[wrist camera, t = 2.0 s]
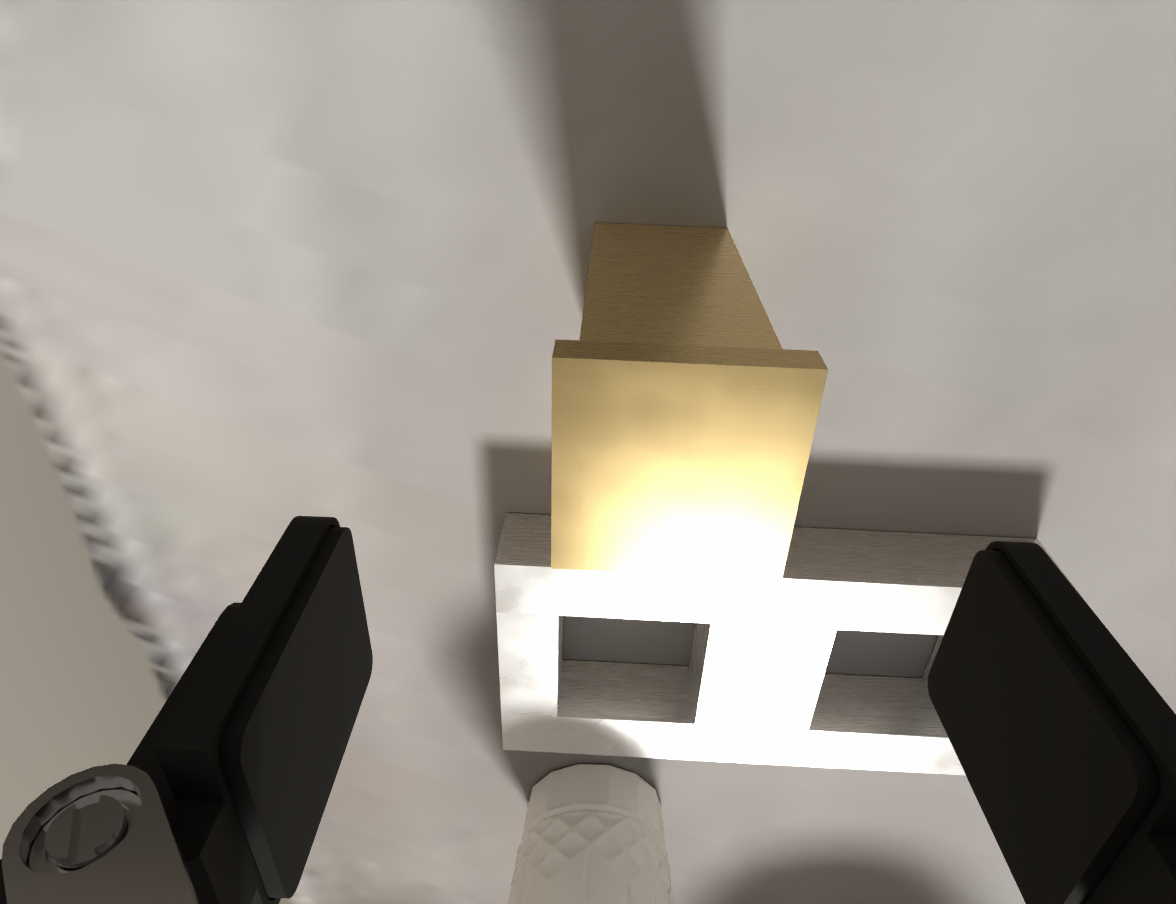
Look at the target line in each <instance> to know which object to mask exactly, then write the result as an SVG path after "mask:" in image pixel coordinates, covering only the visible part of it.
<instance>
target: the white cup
mask: <svg viewBox="0 0 1176 904" xmlns="http://www.w3.org/2000/svg"><path fill="white" fill-rule="evenodd" d="M508 904H674V903H673V894H672V887H671V877H670V867H669V860H668V854H667V850H666V848H665V838H664V826H663V814H662V808H661V805H660V802H659V799H658V796H657V792H656V790H655V789H654V788H653V787H652V786H651V785H649V784H648V783H647V782H646V781H645V780H643V779H642V778H641V777H640V776H638V775H637V774H635V773H632V772H629V771H626V770H623V769H620V768H617V767H614V766H611V765H597V764H577V765H573V766H570V767H566V768H562V769H559V770H556V771H552V772H550V773H549V774H548V775H547V776H545V777H544V778H543V779H542V780H540V781H539V782H538V783H537V784H536V785H534V786H533V788H532V791H531V795H530V799H529V802H528V806H527V812H526V818H525V824H524V830H523V836H522V841H521V843H520V845H519V847H518V851H517V856H516V863H515V870H514V873H513V877H512V882H511V888H510V895H509V902H508Z"/></svg>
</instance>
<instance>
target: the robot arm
mask: <svg viewBox="0 0 1176 904" xmlns="http://www.w3.org/2000/svg"><path fill="white" fill-rule="evenodd" d="M372 659H373V657H372V650H371V644H370V638H369V632H368V626H367V620H366V615H365V609H364V603H363V597H362V591H361V586H360V580H359V574H358V568H357V562H356V556H355V551H354V545H353V539H352V534H351V531H350V529H349V528H347V527H340V525H339V522H338V520H337V519H336V518H334V517H312V516H297V517H294V518H293V520H292V521H291V522H290V524H289V525H288V527H287V529H286V530H285V532H284V534H283V535H282V537H281V539H280V540H279V542H278V544H277V545H276V547H275V549H274V550H273V552H272V554H271V555H270V557H269V559H268V560H267V562H266V563H265V565H264V567H263V568H262V570H261V572H260V573H259V575H258V577H257V578H256V580H255V582H254V583H253V585H252V587H251V588H250V590H249V592H248V593H247V595H246V597H245V598H244V600H243V602H242V603H233V604H231V605H229V606H227V608H226V609H225V610H224V611H223V612H222V614H221V615H220V617H219V618H218V620H217V621H216V623H215V625H214V626H213V628H212V629H211V631H210V633H209V634H208V636H207V637H206V639H205V640H204V642H203V644H202V645H201V647H200V648H199V650H198V652H197V653H196V655H195V656H194V658H193V660H192V661H191V663H190V664H189V666H188V668H187V669H186V671H185V672H184V674H183V676H182V677H181V679H180V680H179V682H178V684H177V685H176V687H175V688H174V690H173V692H172V693H171V695H170V696H169V698H168V699H167V701H166V703H165V704H164V706H163V708H162V709H161V711H160V712H159V714H158V716H157V717H156V719H155V720H154V722H153V724H152V725H151V727H150V728H149V730H148V731H147V733H146V735H145V736H144V738H143V739H142V741H141V743H140V744H139V746H138V747H137V749H136V751H135V752H134V754H133V755H132V757H131V759H130V760H129V762H128V763H127V765H122V764H109V765H103V766H96V767H92V768H89V769H86V770H84V771H81V772H78V773H76V774H73V775H70V776H69V777H67V778H65V779H63V780H62V781H60V782H58V783H57V784H55V785H53V786H52V787H50V788H48V789H47V790H46V791H45V792H43V793H42V794H41V795H40V796H39V797H38V798H36V799H35V800H34V801H33V802H31V803H30V804H29V805H28V806H27V807H26V809H25V810H24V811H23V812H22V814H21V815H20V816H19V817H18V818H17V820H16V821H15V822H14V823H13V825H12V827H11V829H10V831H9V833H8V835H7V837H6V840H5V842H4V844H3V852H2V859H1V860H0V904H279V902H280V899H281V898H291V897H292V896H293V894H294V893H295V891H296V889H297V887H298V884H299V881H300V879H301V876H302V873H303V870H304V867H305V864H306V861H307V858H308V855H309V853H310V850H311V847H312V844H313V841H314V838H315V835H316V832H317V830H318V827H319V824H320V821H321V818H322V815H323V812H324V809H325V807H326V804H327V801H328V798H329V795H330V792H331V789H332V786H333V784H334V781H335V778H336V775H337V772H338V769H339V766H340V763H341V760H342V758H343V755H344V752H345V749H346V746H347V743H348V740H349V737H350V735H351V732H352V729H353V726H354V723H355V720H356V717H357V714H358V712H359V709H360V706H361V703H362V700H363V697H364V694H365V691H366V689H367V686H368V683H369V680H370V676H371V671H372ZM928 692H929V696H930V699H931V701H932V704H933V706H934V708H935V710H936V712H937V714H938V716H939V719H940V721H941V723H942V725H943V727H944V729H945V731H946V734H947V736H948V738H949V740H950V742H951V744H952V746H953V749H954V751H955V753H956V755H957V757H958V759H959V761H960V764H961V766H962V768H963V770H964V772H965V774H966V776H967V779H968V781H969V783H970V785H971V787H972V789H973V791H974V794H975V796H976V798H977V800H978V802H979V804H980V806H981V809H982V811H983V813H984V815H985V817H986V819H987V821H988V824H989V826H990V828H991V830H992V832H993V834H994V836H995V839H996V841H997V843H998V845H999V847H1000V849H1001V851H1002V853H1003V856H1004V858H1005V860H1006V862H1007V864H1008V866H1009V868H1010V871H1011V873H1012V875H1013V877H1014V879H1015V881H1016V883H1017V886H1018V888H1019V890H1020V892H1021V894H1022V896H1023V898H1024V901H1025V903H1026V904H1176V714H1175V713H1174V712H1173V711H1172V709H1171V708H1170V707H1169V706H1168V704H1167V703H1166V702H1165V701H1164V699H1163V698H1162V697H1161V696H1160V694H1159V693H1158V692H1157V691H1156V689H1155V688H1154V687H1153V686H1152V684H1151V683H1150V682H1149V681H1148V679H1147V678H1146V677H1145V676H1144V674H1143V673H1142V672H1141V671H1140V669H1139V668H1138V667H1137V666H1136V664H1135V663H1134V662H1133V661H1132V659H1131V658H1130V657H1129V656H1128V654H1127V653H1126V652H1125V651H1124V649H1123V648H1122V647H1121V646H1120V644H1119V643H1118V642H1117V641H1116V639H1115V638H1114V637H1113V636H1112V634H1111V633H1110V632H1109V631H1108V629H1107V628H1106V627H1105V626H1104V624H1103V623H1102V622H1101V621H1100V619H1099V618H1098V617H1097V616H1096V614H1095V613H1094V612H1093V611H1092V609H1091V608H1090V607H1089V606H1088V604H1087V603H1086V602H1085V601H1084V599H1083V598H1082V597H1081V596H1080V594H1079V593H1078V592H1077V591H1076V589H1075V588H1074V587H1073V586H1072V584H1071V583H1070V582H1069V581H1068V579H1067V578H1066V577H1065V576H1064V574H1063V573H1062V572H1061V571H1060V569H1059V568H1058V567H1057V566H1056V564H1055V563H1054V562H1053V561H1052V560H1051V558H1050V557H1049V556H1048V555H1047V553H1046V552H1045V551H1044V550H1043V548H1042V547H1040V546H1039V545H1038V544H1036V543H1033V542H1012V541H994V542H991V543H990V544H989V545H988V546H987V548H986V549H985V550H981V551H978V552H977V553H976V555H975V556H974V558H973V561H972V563H971V566H970V569H969V571H968V574H967V576H966V579H965V582H964V584H963V587H962V589H961V592H960V594H959V597H958V600H957V602H956V605H955V607H954V610H953V613H952V615H951V618H950V620H949V623H948V625H947V628H946V631H945V633H944V636H943V638H942V641H941V644H940V646H939V649H938V651H937V654H936V657H935V659H934V662H933V664H932V667H931V669H930V672H929V676H928Z"/></svg>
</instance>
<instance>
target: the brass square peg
mask: <svg viewBox="0 0 1176 904" xmlns="http://www.w3.org/2000/svg"><path fill="white" fill-rule="evenodd" d="M827 372H828V369H827V367H826V365H825V363H824V361H823V360H822V358H821V356H820V354H819V352H818V351H807V350H784V349H782V347H781V345H780V343H779V340H778V338H777V336H776V334H775V332H774V329H773V327H772V325H771V323H770V321H769V318H768V316H767V314H766V312H765V310H764V307H763V305H762V303H761V301H760V299H759V296H758V294H757V292H756V290H755V288H754V285H753V283H752V281H751V279H750V277H749V274H748V272H747V270H746V268H745V266H744V263H743V261H742V259H741V257H740V255H739V252H738V250H737V248H736V246H735V244H734V241H733V239H732V237H731V235H730V233H729V230H728V228H714V227H690V226H665V225H640V224H616V223H595V224H594V231H593V239H592V247H591V255H590V262H589V270H588V278H587V286H586V294H585V301H584V309H583V317H582V325H581V332H580V340H579V341H578V340H555V345H554V350H553V355H552V483H551V569H567V570H587V571H608V572H628V573H648V574H668V575H688V576H708V577H728V578H748V579H768V580H782V577H783V573H784V568H785V564H786V559H787V555H788V550H789V546H790V541H791V536H792V532H793V527H794V523H795V518H796V514H797V509H798V504H799V500H800V495H801V491H802V486H803V482H804V477H805V473H806V468H807V463H808V459H809V454H810V450H811V445H812V441H813V436H814V431H815V427H816V422H817V418H818V413H819V409H820V404H821V399H822V395H823V390H824V386H825V381H826V377H827Z"/></svg>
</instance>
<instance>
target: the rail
mask: <svg viewBox="0 0 1176 904" xmlns="http://www.w3.org/2000/svg"><path fill="white" fill-rule="evenodd" d="M994 541H1012V542H1033V543H1036V544H1038V545H1039V546H1040V547H1042V548H1043V550H1044V551H1045V552H1046V553H1047V555H1048V556H1049V557H1050V558H1051V560H1052V561H1053V562H1054V563H1055V564H1056V562H1055V561H1054V560H1053V558H1052V557H1051V556H1050V555H1049V553H1048V552H1047V551H1046V549H1045V548H1044V547H1043V545H1042V544H1041V543H1040V542H1039V540H1038V539H1031V538H1010V537H990V536H969V535H948V534H928V533H907V532H887V531H866V530H846V529H825V528H805V527H793V532H792V536H791V541H790V546H789V550H788V555H787V559H786V564H785V568H784V573H783V577H782V580H768V579H748V578H728V577H708V576H688V575H668V574H648V573H628V572H608V571H587V570H567V569H551V515H538V514H517V513H506V515H505V519H504V523H503V528H502V532H501V536H500V541H499V545H498V549H497V554H496V558H495V563H494V573H495V594H496V615H497V636H498V657H499V678H500V699H501V720H502V741H503V750H515V751H533V752H551V753H569V754H588V755H606V756H624V757H642V758H660V759H678V760H697V761H715V762H733V763H751V764H769V765H787V766H806V767H824V768H842V769H860V770H878V771H896V772H915V773H933V774H951V775H966V774H965V772H964V770H963V768H962V766H961V764H960V761H959V759H958V757H957V755H956V753H955V751H954V749H953V746H952V744H951V742H950V740H949V738H948V736H947V734H946V731H945V729H944V727H943V725H942V723H941V721H940V719H939V716H938V714H937V712H936V710H935V708H934V706H933V704H932V701H931V699H930V696H929V692H928V676H929V672H930V669H931V667H932V664H933V662H934V659H935V657H936V654H937V651H938V649H939V646H940V644H941V641H942V638H943V636H944V633H945V631H946V628H947V625H948V623H949V620H950V618H951V615H952V613H953V610H954V607H955V605H956V602H957V600H958V597H959V594H960V592H961V589H962V587H963V584H964V582H965V579H966V576H967V574H968V571H969V569H970V566H971V563H972V561H973V558H974V556H975V555H976V553H977V552H978V551H981V550H985V549H986V548H987V546H988V545H989V544H990V543H991V542H994ZM1056 566H1057V567H1058V568H1059V566H1058V565H1057V564H1056ZM1059 569H1060V568H1059ZM1060 571H1061V572H1062V573H1063V571H1062V570H1061V569H1060ZM1063 574H1064V573H1063ZM1064 576H1065V577H1066V575H1065V574H1064ZM1066 578H1067V577H1066ZM1067 579H1068V578H1067ZM1068 581H1069V579H1068ZM1069 582H1070V581H1069ZM1070 583H1071V582H1070ZM1071 584H1072V583H1071ZM1072 586H1073V585H1072ZM1073 587H1074V586H1073ZM1074 588H1075V587H1074ZM1075 589H1076V588H1075ZM1076 591H1077V590H1076ZM1077 592H1078V591H1077ZM1078 593H1079V592H1078ZM563 616H577V617H596V618H616V619H635V620H655V621H674V622H694V623H696V624H695V631H694V638H693V645H692V651H691V658H690V665H689V666H672V665H653V664H634V663H615V662H596V661H577V660H563ZM837 630H849V631H869V632H888V633H908V634H927V635H939V636H938V638H937V641H936V644H935V646H934V649H933V651H932V654H931V657H930V659H929V662H928V664H927V667H926V670H925V672H924V675H923V677H922V679H919V678H900V677H881V676H862V675H843V674H825V670H826V667H827V663H828V660H829V656H830V653H831V649H832V646H833V642H834V639H835V635H836V631H837Z"/></svg>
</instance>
